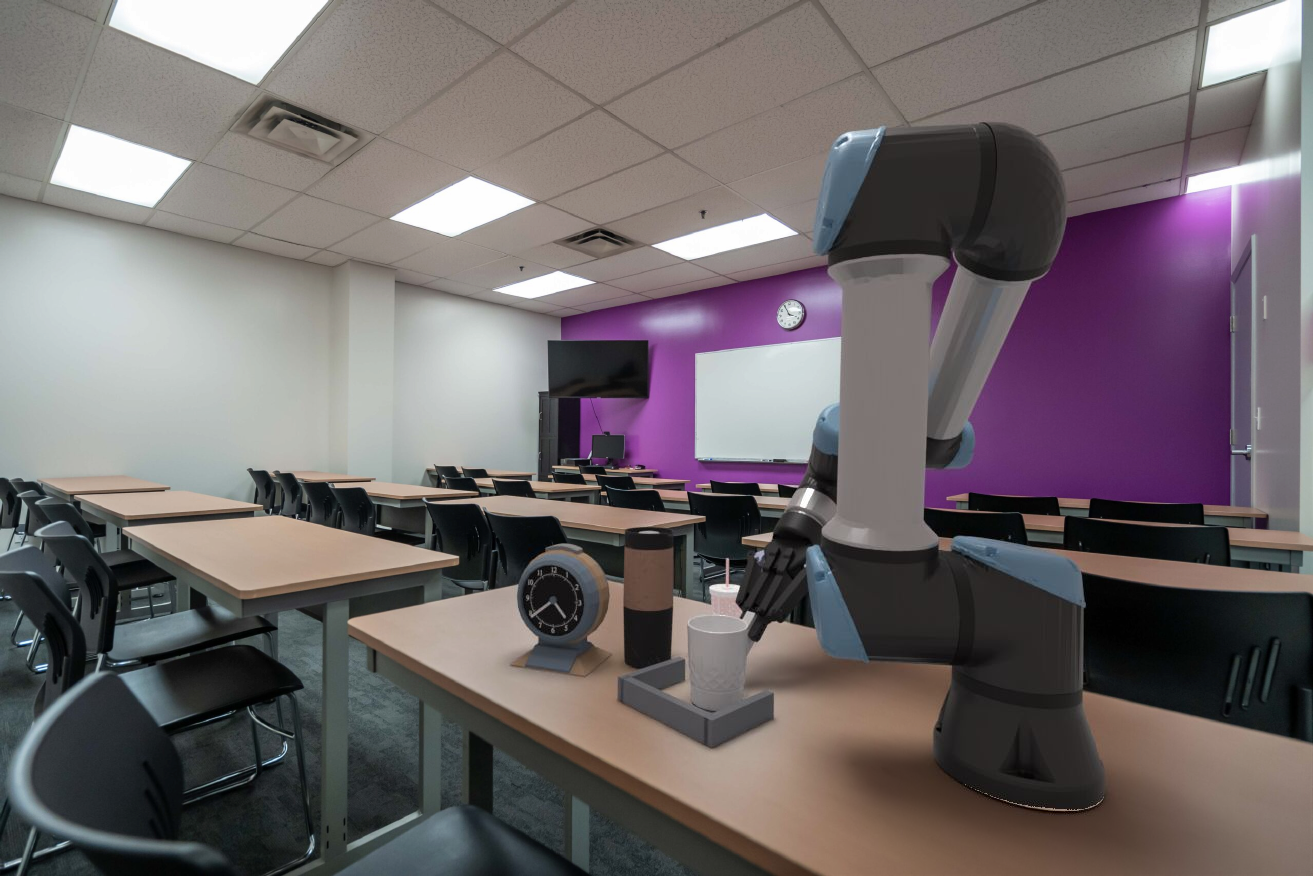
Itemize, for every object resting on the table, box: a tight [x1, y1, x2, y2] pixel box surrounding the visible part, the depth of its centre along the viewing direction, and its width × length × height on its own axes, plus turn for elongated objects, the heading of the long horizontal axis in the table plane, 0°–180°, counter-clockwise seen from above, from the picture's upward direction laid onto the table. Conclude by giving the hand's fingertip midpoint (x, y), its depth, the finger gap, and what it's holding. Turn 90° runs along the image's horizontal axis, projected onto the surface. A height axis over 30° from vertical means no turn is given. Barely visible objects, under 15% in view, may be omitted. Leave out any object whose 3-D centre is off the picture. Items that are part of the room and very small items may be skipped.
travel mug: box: [622, 526, 675, 670], centre depth 91 cm, size 8×8×20 cm
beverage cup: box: [708, 557, 742, 618], centre depth 101 cm, size 6×6×14 cm
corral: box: [617, 656, 775, 749], centre depth 75 cm, size 11×16×3 cm
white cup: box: [686, 614, 748, 712], centre depth 77 cm, size 8×8×10 cm
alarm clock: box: [509, 543, 613, 678], centre depth 91 cm, size 14×10×18 cm
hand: (734, 657), depth 81 cm, fingers closed
